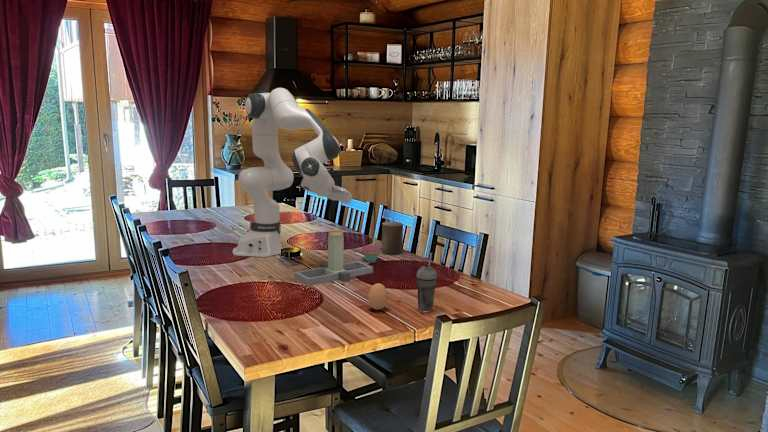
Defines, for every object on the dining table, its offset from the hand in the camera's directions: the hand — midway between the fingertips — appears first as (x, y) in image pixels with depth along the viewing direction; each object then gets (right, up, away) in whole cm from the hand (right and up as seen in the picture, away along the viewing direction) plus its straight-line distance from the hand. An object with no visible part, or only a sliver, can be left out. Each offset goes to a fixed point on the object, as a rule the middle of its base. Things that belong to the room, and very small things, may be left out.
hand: (332, 198), depth 233 cm
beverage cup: (+35, -39, -40) cm, 66 cm away
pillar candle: (+25, -24, +33) cm, 48 cm away
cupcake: (+15, -27, +18) cm, 36 cm away
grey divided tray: (+1, -31, -5) cm, 31 cm away
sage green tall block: (+2, -31, -5) cm, 31 cm away
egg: (+19, -39, -41) cm, 59 cm away
